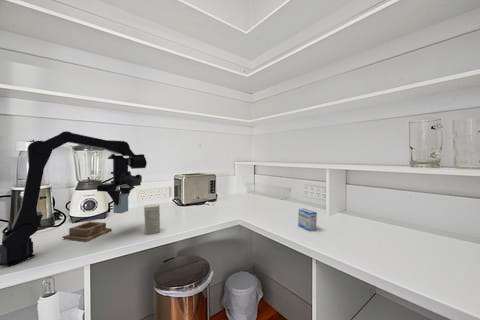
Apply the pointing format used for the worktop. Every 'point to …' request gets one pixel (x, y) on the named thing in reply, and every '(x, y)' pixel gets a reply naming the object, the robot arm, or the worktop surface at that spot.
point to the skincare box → (152, 218)
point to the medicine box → (307, 219)
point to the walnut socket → (87, 231)
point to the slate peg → (121, 204)
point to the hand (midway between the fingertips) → (120, 204)
